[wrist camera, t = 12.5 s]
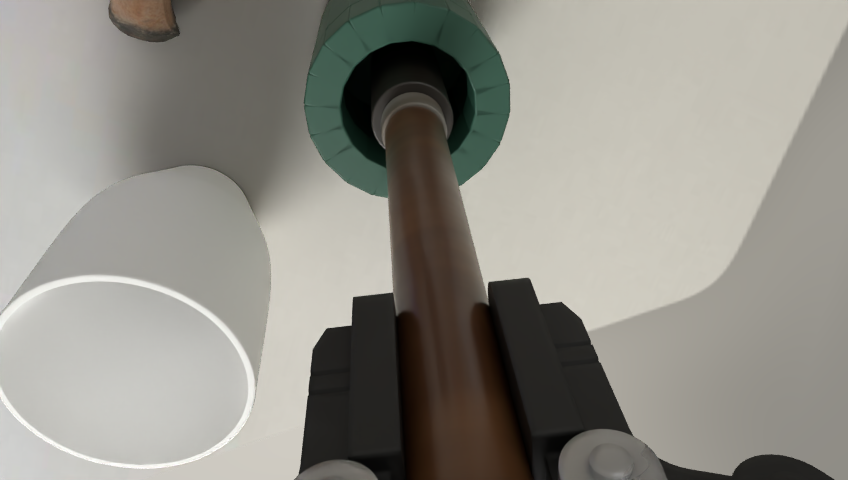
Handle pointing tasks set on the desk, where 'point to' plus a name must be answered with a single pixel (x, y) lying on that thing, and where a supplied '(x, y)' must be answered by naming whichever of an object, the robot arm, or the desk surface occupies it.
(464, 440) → the brown cylindrical rod
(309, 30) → the desk surface
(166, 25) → the oil lamp
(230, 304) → the mug
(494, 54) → the green tube
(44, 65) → the desk surface
